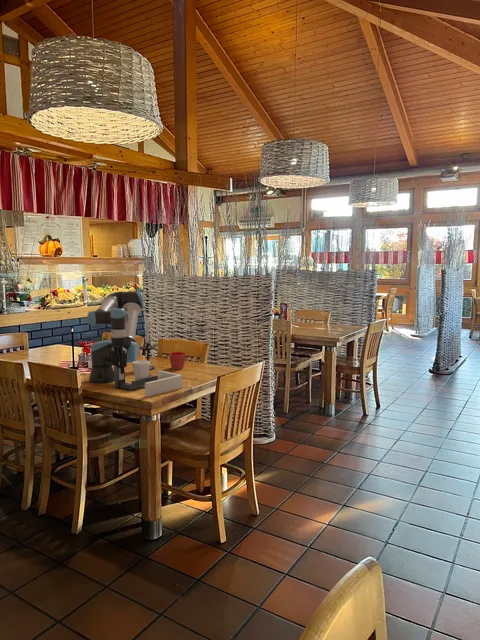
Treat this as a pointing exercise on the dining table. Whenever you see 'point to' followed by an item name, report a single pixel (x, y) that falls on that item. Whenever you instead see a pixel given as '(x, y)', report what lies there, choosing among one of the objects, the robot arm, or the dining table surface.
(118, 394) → the dining table surface
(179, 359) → the flower pot
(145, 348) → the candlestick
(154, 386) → the cubby
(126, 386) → the crook tool
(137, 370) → the cup
